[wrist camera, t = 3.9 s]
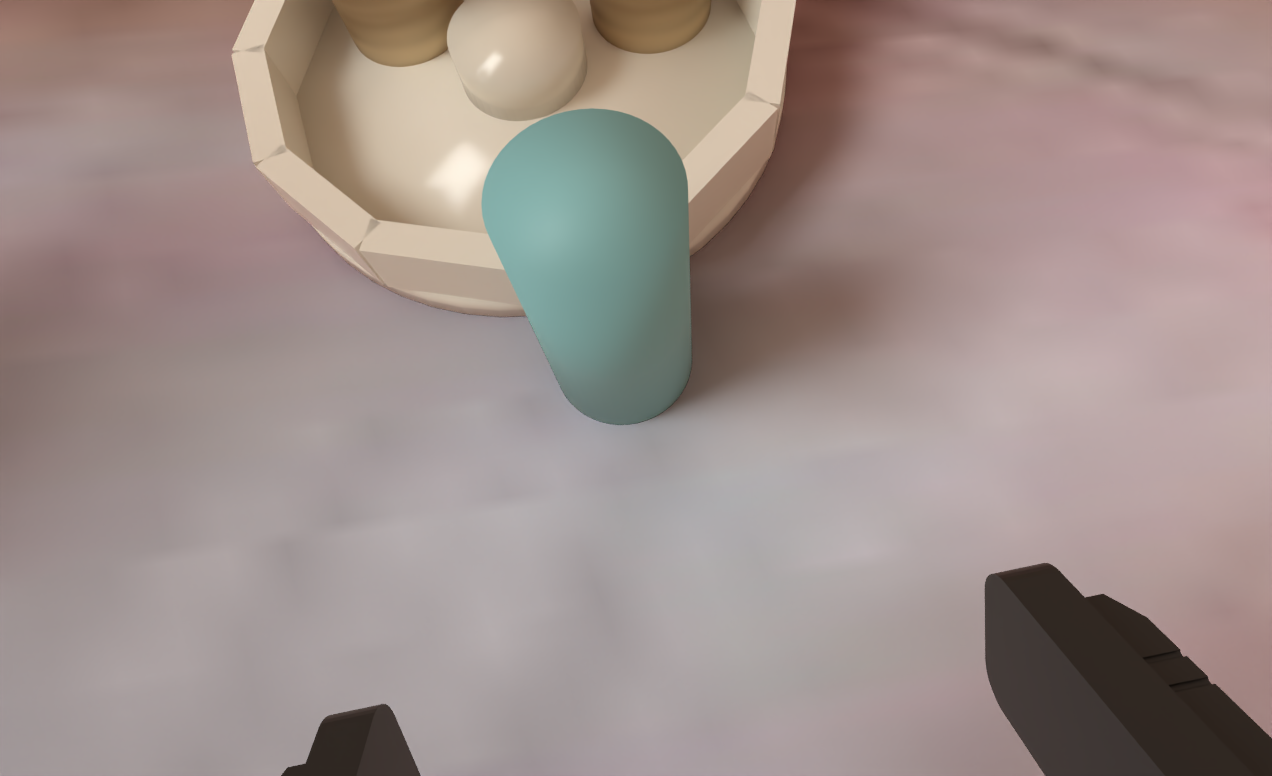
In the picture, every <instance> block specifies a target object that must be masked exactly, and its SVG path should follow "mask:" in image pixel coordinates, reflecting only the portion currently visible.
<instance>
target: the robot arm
mask: <svg viewBox="0 0 1272 776" xmlns="http://www.w3.org/2000/svg"><path fill="white" fill-rule="evenodd" d="M985 659H986V669H987V674H988V678H989V681H990V685H991V687H992V690H993V693H994V695H995V698H996V700H997V702H998V704H999V706H1000V708H1001V709H1002V711H1003V713H1004V714H1005V716H1006V717H1007V719H1008V720H1009V722H1010V723H1011V725H1012V726H1013V728H1014V729H1015V731H1016V732H1017V734H1018V735H1019V737H1020V738H1021V740H1022V741H1023V743H1024V744H1025V746H1026V747H1027V749H1028V750H1029V752H1030V753H1031V755H1032V756H1033V758H1034V759H1035V761H1036V762H1037V764H1038V765H1039V767H1040V768H1041V770H1042V771H1043V773H1044V774H1045V776H1272V738H1271V737H1270V736H1269V735H1268V734H1266V733H1265V732H1264V731H1263V730H1262V729H1261V728H1260V727H1259V726H1258V725H1257V724H1256V723H1255V722H1254V721H1253V720H1252V719H1251V718H1250V717H1249V716H1248V715H1247V714H1246V713H1245V712H1244V711H1243V710H1242V709H1241V708H1240V707H1239V706H1238V705H1237V704H1236V703H1235V702H1233V701H1232V700H1231V699H1230V698H1229V697H1228V696H1227V695H1226V694H1225V693H1224V692H1223V691H1222V690H1221V689H1220V688H1219V687H1218V686H1217V685H1216V684H1211V683H1210V682H1209V680H1208V676H1207V675H1206V674H1205V673H1204V672H1203V671H1202V670H1201V669H1199V668H1198V667H1197V666H1196V665H1195V664H1194V663H1193V662H1192V661H1191V660H1190V659H1189V658H1188V657H1187V656H1185V657H1183V656H1182V654H1181V652H1180V649H1179V648H1178V647H1177V646H1176V645H1175V644H1174V643H1173V642H1172V641H1171V640H1170V639H1169V638H1168V637H1166V636H1165V635H1164V634H1163V633H1162V632H1161V631H1160V630H1159V629H1158V628H1157V627H1156V626H1155V625H1154V624H1153V623H1152V622H1151V621H1150V620H1149V619H1148V618H1147V617H1145V616H1143V615H1141V614H1139V613H1138V612H1136V611H1134V610H1132V609H1130V608H1128V607H1126V606H1125V605H1123V604H1121V603H1119V602H1117V601H1115V600H1114V599H1112V598H1110V597H1108V596H1106V595H1104V594H1100V595H1095V596H1091V597H1086V598H1085V597H1084V596H1083V595H1082V594H1081V593H1080V592H1079V591H1078V590H1077V589H1076V588H1075V587H1074V586H1073V585H1072V584H1071V583H1070V582H1069V581H1068V580H1067V579H1066V577H1065V576H1064V575H1063V574H1062V573H1061V572H1060V571H1059V570H1058V569H1057V568H1056V567H1054V566H1053V565H1051V564H1048V563H1042V564H1037V565H1033V566H1028V567H1023V568H1018V569H1014V570H1009V571H1004V572H999V573H995V574H991V575H989V576H988V577H987V579H986V582H985ZM281 776H421V775H420V773H419V771H418V768H417V766H416V764H415V762H414V759H413V757H412V755H411V752H410V750H409V748H408V745H407V743H406V741H405V738H404V736H403V734H402V731H401V729H400V727H399V725H398V722H397V720H396V718H395V715H394V713H393V711H392V710H391V708H390V707H389V706H388V705H386V704H381V705H376V706H372V707H367V708H362V709H357V710H353V711H348V712H343V713H338V714H333V715H329V716H327V717H326V718H325V719H324V720H323V721H322V723H321V724H320V727H319V729H318V732H317V734H316V737H315V740H314V742H313V745H312V748H311V751H310V753H309V756H308V759H307V761H306V764H302V765H297V766H292V767H288V768H287V769H286V770H285V771H284V773H283V774H282V775H281Z"/></svg>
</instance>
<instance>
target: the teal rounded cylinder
mask: <svg viewBox="0 0 1272 776" xmlns="http://www.w3.org/2000/svg"><path fill="white" fill-rule="evenodd" d="M481 206H482V216H483V221H484V225H485V228H486V230H487V233H488V235H489V238H490V240H491V242H492V244H493V246H494V248H495V250H496V252H497V254H498V257H499V259H500V261H501V263H502V265H503V267H504V269H505V271H506V273H507V275H508V278H509V280H510V282H511V284H512V286H513V288H514V290H515V292H516V294H517V297H518V299H519V301H520V303H521V305H522V307H523V309H524V311H525V313H526V316H527V318H528V320H529V322H530V324H531V326H532V328H533V330H534V332H535V334H536V337H537V339H538V341H539V343H540V345H541V347H542V349H543V351H544V353H545V356H546V358H547V360H548V362H549V364H550V366H551V368H552V370H553V372H554V375H555V377H556V379H557V381H558V383H559V385H560V387H561V389H562V391H563V393H564V394H565V396H566V398H567V399H568V400H569V401H570V403H571V404H572V405H573V406H574V407H575V408H576V409H577V410H579V411H580V412H582V413H583V414H584V415H586V416H588V417H590V418H592V419H594V420H597V421H600V422H604V423H608V424H616V425H628V424H635V423H639V422H643V421H646V420H649V419H651V418H653V417H655V416H657V415H659V414H660V413H662V412H664V411H665V410H666V409H667V408H669V407H670V406H671V405H672V404H673V403H674V402H675V401H676V400H677V398H678V397H679V396H680V395H681V393H682V391H683V390H684V388H685V386H686V384H687V382H688V379H689V376H690V372H691V365H692V342H691V297H690V253H689V208H688V180H687V175H686V170H685V168H684V165H683V162H682V159H681V158H680V156H679V154H678V152H677V150H676V149H675V147H674V146H673V145H672V144H671V142H670V141H669V140H668V139H667V138H666V137H665V136H664V135H663V134H662V133H661V132H660V131H659V130H657V129H656V128H655V127H653V126H652V125H650V124H649V123H647V122H645V121H643V120H641V119H639V118H637V117H634V116H632V115H630V114H626V113H623V112H619V111H614V110H608V109H594V108H590V109H577V110H571V111H566V112H562V113H558V114H555V115H552V116H549V117H547V118H544V119H542V120H540V121H538V122H536V123H534V124H532V125H530V126H529V127H527V128H526V129H524V130H523V131H521V132H520V133H519V134H517V135H516V136H515V137H514V138H513V139H512V140H510V141H509V142H508V144H507V145H506V146H505V147H504V148H503V149H502V150H501V151H500V153H499V154H498V156H497V157H496V158H495V160H494V162H493V163H492V165H491V167H490V169H489V171H488V174H487V176H486V179H485V182H484V187H483V191H482V202H481Z"/></svg>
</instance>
